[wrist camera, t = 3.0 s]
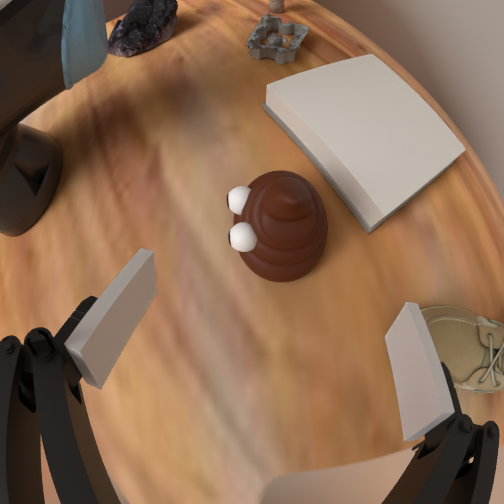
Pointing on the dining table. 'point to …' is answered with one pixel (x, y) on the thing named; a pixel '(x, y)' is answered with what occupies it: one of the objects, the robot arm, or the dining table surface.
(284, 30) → the stone castle ruin
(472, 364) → the boat shoe
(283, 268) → the poop emoji
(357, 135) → the podium
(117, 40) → the crystal cluster
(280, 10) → the mushroom
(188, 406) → the dining table surface
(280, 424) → the dining table surface
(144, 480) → the dining table surface
